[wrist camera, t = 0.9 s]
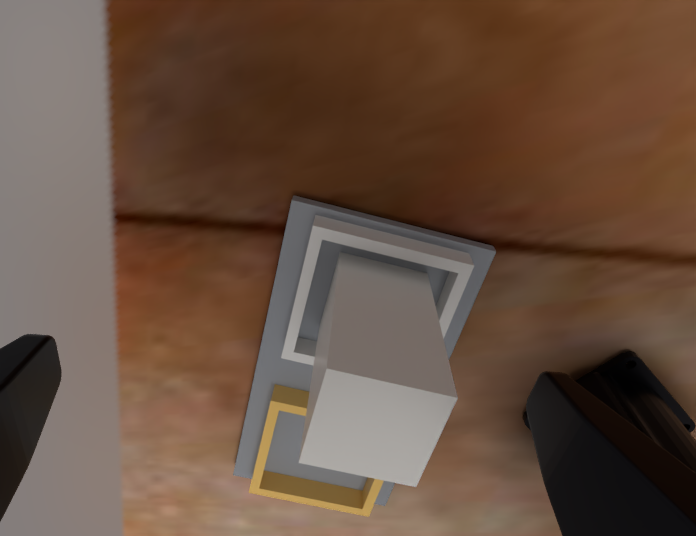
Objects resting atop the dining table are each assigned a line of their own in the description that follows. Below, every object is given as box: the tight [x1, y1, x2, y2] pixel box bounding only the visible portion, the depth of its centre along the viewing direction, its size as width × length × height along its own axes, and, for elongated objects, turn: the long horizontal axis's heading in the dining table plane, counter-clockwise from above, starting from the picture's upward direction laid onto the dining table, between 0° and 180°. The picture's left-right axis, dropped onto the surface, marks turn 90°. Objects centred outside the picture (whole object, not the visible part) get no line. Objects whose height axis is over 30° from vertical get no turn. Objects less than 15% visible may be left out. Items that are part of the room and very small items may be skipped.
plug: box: [299, 252, 458, 487], centre depth 19 cm, size 5×4×8 cm
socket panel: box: [233, 196, 496, 517], centre depth 24 cm, size 17×9×2 cm, turn 166°
